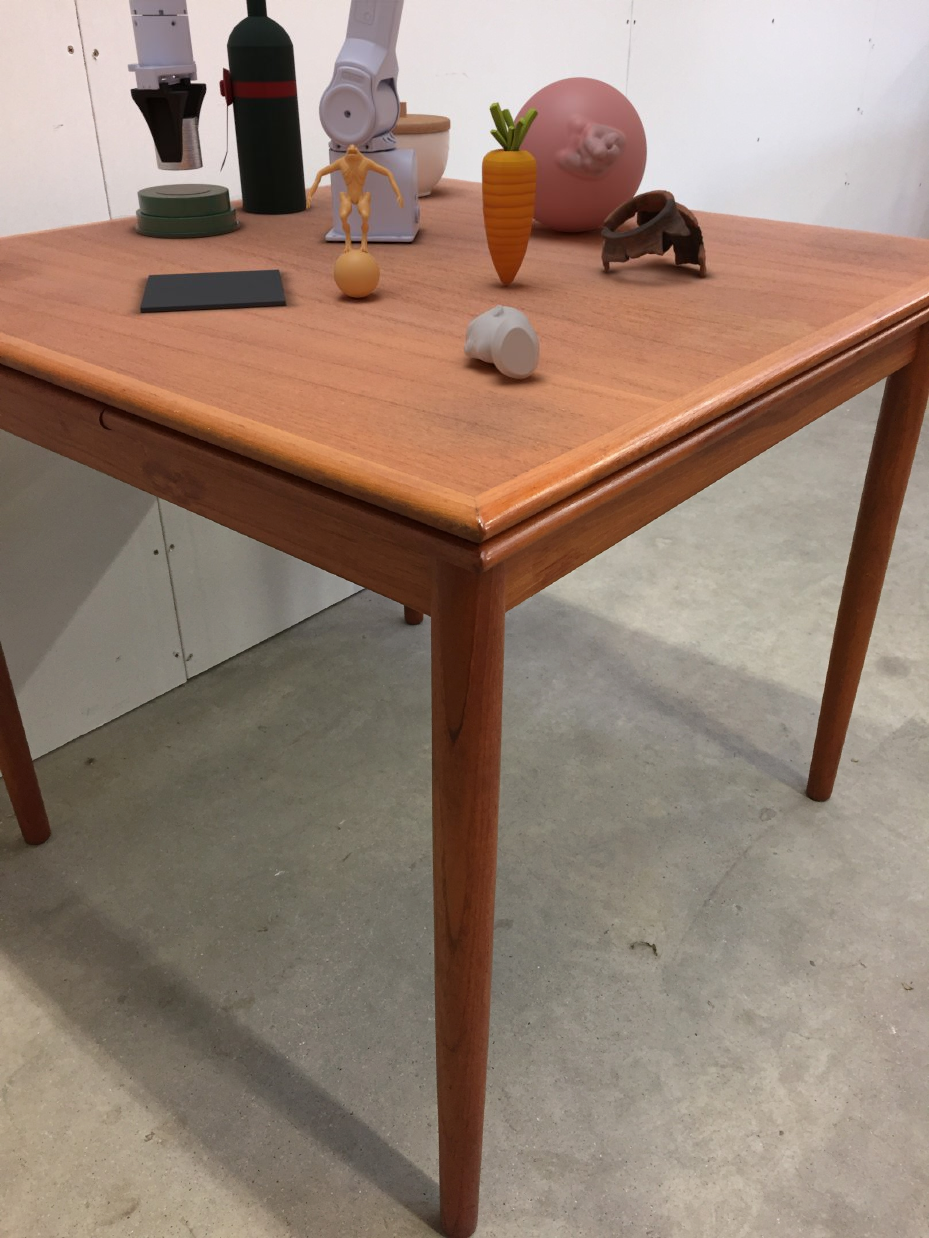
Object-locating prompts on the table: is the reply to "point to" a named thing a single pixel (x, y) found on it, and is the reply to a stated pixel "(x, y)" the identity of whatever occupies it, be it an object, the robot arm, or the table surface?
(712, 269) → the table surface
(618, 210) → the broken pot rim
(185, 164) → the silver cup
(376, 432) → the table surface
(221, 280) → the mat
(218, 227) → the green stepped puck
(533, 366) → the pale two-lobed sculpture
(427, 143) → the lidded bowl
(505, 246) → the carrot
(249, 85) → the wine bottle
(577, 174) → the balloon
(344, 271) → the figurine
